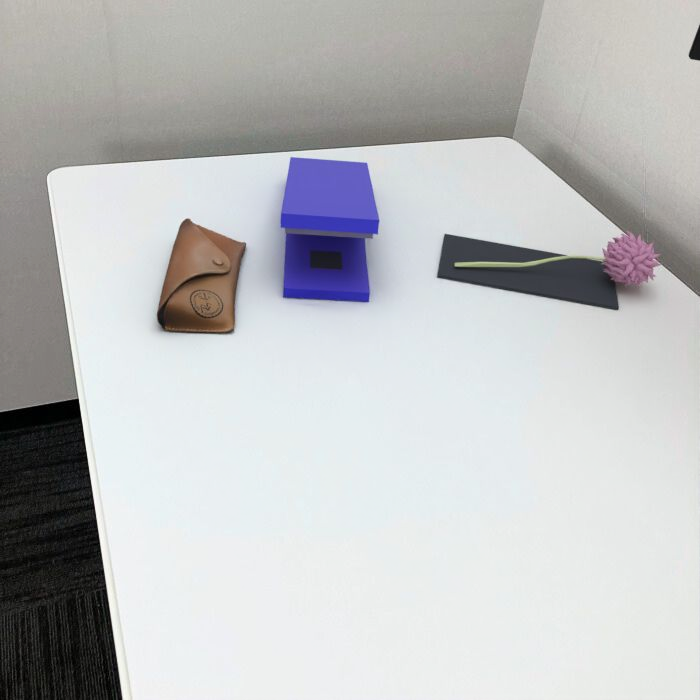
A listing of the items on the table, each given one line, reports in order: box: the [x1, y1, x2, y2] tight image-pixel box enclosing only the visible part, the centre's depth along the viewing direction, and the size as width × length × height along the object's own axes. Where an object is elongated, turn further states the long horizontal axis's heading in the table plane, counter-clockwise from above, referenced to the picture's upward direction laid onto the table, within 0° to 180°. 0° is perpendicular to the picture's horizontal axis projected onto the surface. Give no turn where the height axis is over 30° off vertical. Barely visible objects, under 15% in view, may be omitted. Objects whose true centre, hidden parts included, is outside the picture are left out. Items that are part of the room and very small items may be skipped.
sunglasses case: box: [156, 217, 247, 334], centre depth 88 cm, size 18×7×7 cm
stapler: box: [280, 156, 380, 303], centre depth 97 cm, size 12×28×10 cm, turn 2°
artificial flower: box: [455, 230, 662, 289], centre depth 95 cm, size 7×7×25 cm
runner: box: [436, 233, 620, 311], centre depth 97 cm, size 22×10×1 cm, turn 80°
